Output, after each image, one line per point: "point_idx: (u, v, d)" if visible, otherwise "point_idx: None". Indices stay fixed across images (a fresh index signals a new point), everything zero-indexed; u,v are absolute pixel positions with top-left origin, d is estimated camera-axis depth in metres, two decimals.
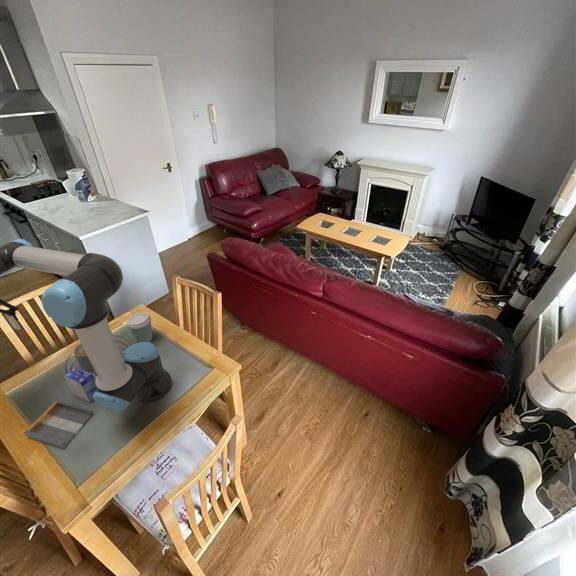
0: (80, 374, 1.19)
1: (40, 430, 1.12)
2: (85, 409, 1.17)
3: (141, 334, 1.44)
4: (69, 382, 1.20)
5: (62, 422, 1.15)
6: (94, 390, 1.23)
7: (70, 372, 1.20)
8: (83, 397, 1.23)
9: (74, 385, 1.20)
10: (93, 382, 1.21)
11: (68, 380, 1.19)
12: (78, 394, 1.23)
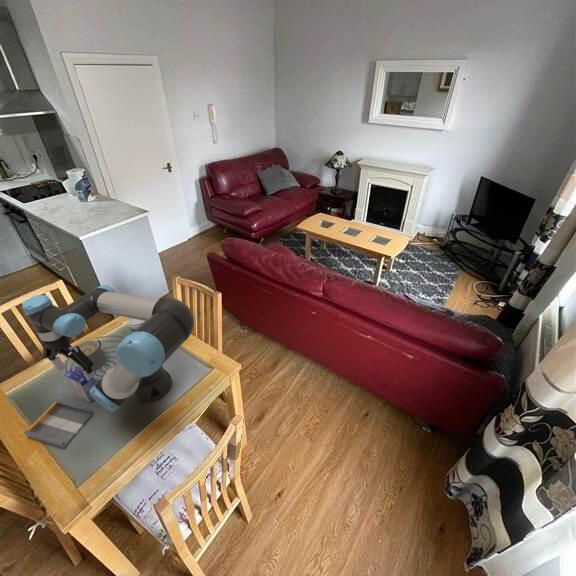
0: (81, 374, 1.19)
1: (40, 430, 1.12)
2: (85, 409, 1.17)
3: None
4: (69, 382, 1.20)
5: (62, 422, 1.15)
6: None
7: (70, 372, 1.20)
8: (83, 397, 1.23)
9: (74, 385, 1.20)
10: (93, 382, 1.21)
11: (68, 380, 1.19)
12: (78, 394, 1.23)
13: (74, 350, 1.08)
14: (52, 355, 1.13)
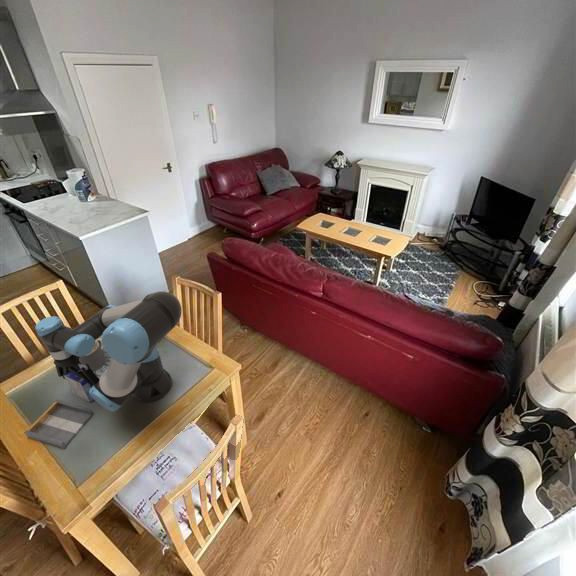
0: None
1: (40, 430, 1.12)
2: (85, 409, 1.17)
3: None
4: (69, 382, 1.20)
5: (62, 422, 1.15)
6: None
7: (70, 372, 1.20)
8: (83, 397, 1.23)
9: (74, 385, 1.20)
10: None
11: (68, 380, 1.19)
12: (78, 394, 1.23)
13: (84, 368, 1.14)
14: (65, 373, 1.18)
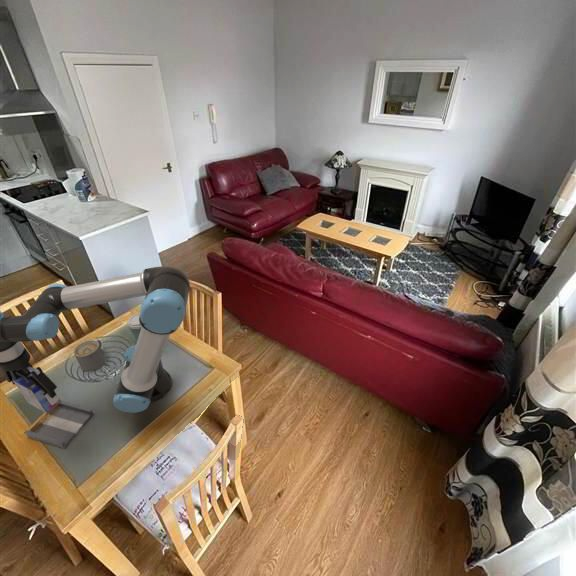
0: None
1: (40, 430, 1.12)
2: (85, 409, 1.17)
3: None
4: (20, 388, 1.00)
5: (62, 422, 1.15)
6: None
7: (21, 376, 1.00)
8: (38, 406, 1.03)
9: (26, 393, 1.00)
10: None
11: (19, 386, 0.99)
12: (32, 403, 1.04)
13: (35, 373, 0.94)
14: (14, 378, 0.99)
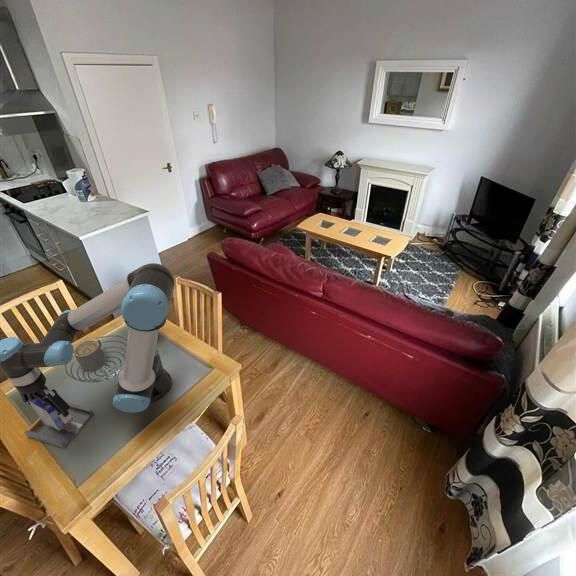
0: None
1: (40, 430, 1.12)
2: (85, 409, 1.17)
3: None
4: (35, 408, 1.07)
5: None
6: None
7: None
8: (52, 425, 1.09)
9: (41, 412, 1.07)
10: None
11: (34, 406, 1.06)
12: (46, 421, 1.10)
13: (50, 395, 1.00)
14: (30, 399, 1.05)
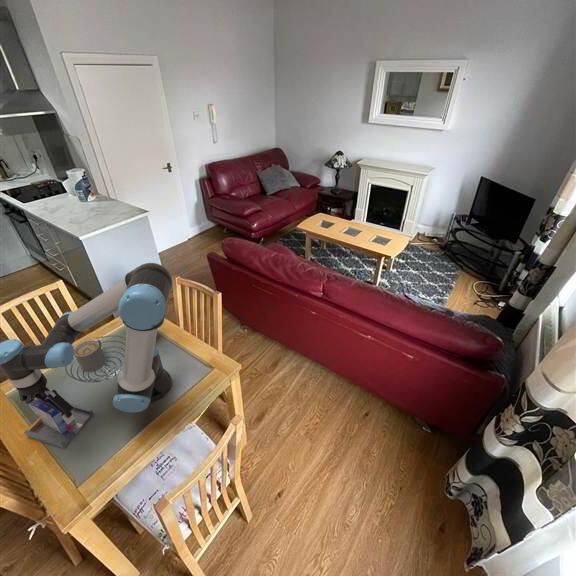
0: None
1: (40, 430, 1.12)
2: (85, 409, 1.17)
3: None
4: (38, 412, 1.08)
5: None
6: None
7: (39, 401, 1.08)
8: (55, 428, 1.11)
9: (44, 416, 1.08)
10: None
11: (37, 410, 1.07)
12: (49, 425, 1.11)
13: (51, 395, 1.01)
14: (29, 399, 1.05)
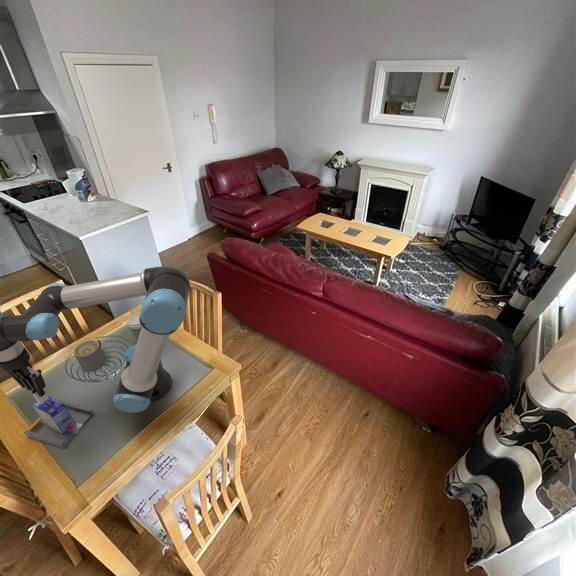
0: (51, 404, 1.07)
1: (40, 430, 1.12)
2: (85, 409, 1.17)
3: None
4: (38, 412, 1.08)
5: None
6: (67, 420, 1.11)
7: None
8: (55, 428, 1.11)
9: (44, 416, 1.08)
10: (65, 412, 1.09)
11: (37, 410, 1.07)
12: (49, 425, 1.11)
13: (36, 376, 0.95)
14: (22, 381, 0.98)
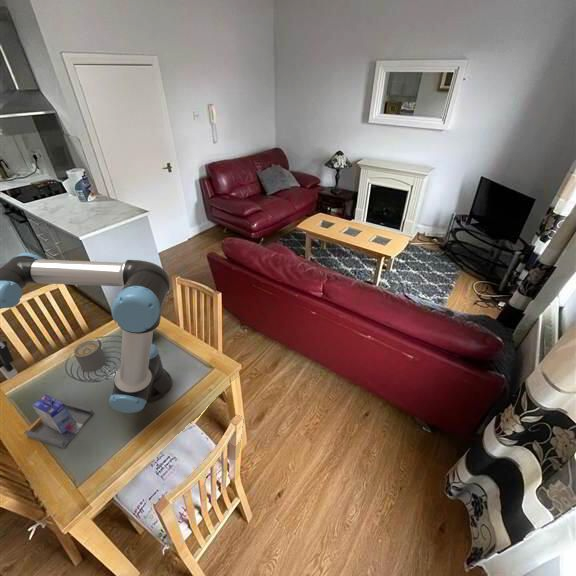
0: (51, 404, 1.07)
1: (40, 430, 1.12)
2: (85, 409, 1.17)
3: None
4: (38, 412, 1.08)
5: None
6: (67, 420, 1.11)
7: (39, 401, 1.08)
8: (55, 428, 1.11)
9: (44, 416, 1.08)
10: (65, 412, 1.09)
11: (37, 410, 1.07)
12: (49, 425, 1.11)
13: (0, 347, 0.90)
14: None
